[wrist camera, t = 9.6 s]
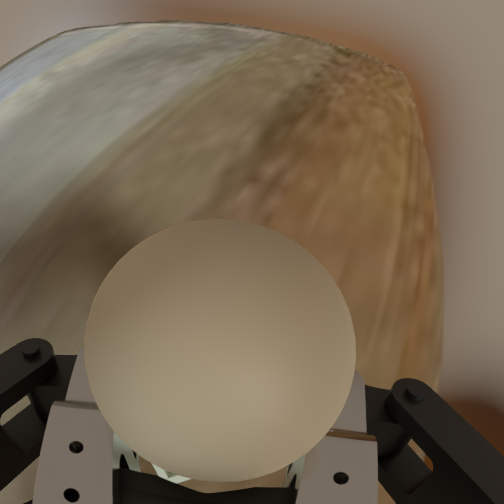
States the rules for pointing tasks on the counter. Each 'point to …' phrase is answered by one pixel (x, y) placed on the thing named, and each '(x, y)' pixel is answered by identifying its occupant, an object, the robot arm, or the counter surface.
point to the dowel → (219, 350)
